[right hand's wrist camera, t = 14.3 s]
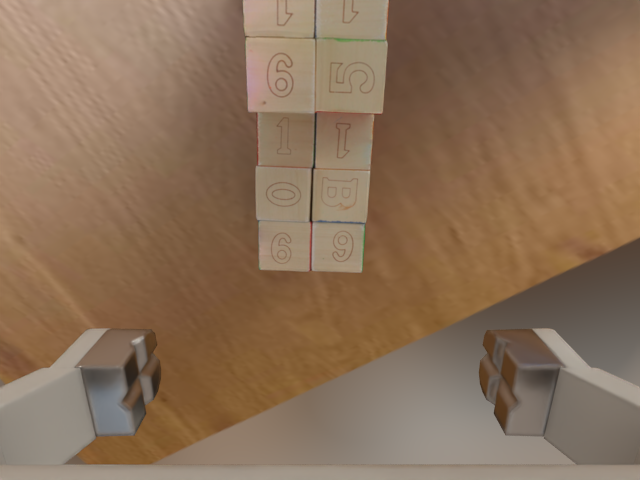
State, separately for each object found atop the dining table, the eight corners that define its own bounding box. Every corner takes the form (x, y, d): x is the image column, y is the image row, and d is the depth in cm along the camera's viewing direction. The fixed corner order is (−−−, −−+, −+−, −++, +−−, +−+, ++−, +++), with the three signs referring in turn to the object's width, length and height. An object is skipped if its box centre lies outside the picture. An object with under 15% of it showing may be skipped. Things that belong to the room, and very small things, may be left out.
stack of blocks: (351, 226, 33) (367, 301, 22) (271, 222, 33) (245, 296, 22) (375, -104, 26) (419, -257, 14) (273, -110, 26) (235, -266, 14)
